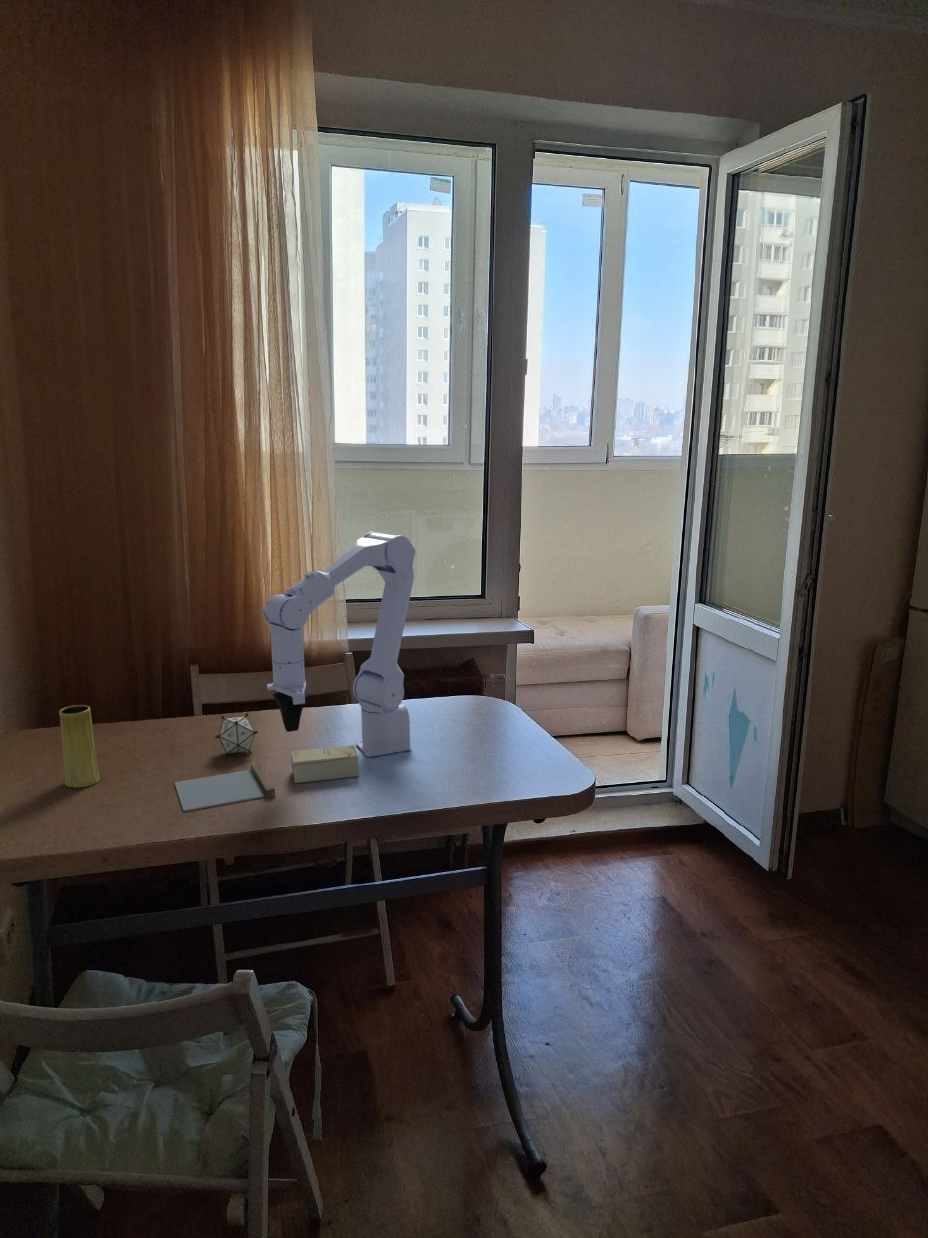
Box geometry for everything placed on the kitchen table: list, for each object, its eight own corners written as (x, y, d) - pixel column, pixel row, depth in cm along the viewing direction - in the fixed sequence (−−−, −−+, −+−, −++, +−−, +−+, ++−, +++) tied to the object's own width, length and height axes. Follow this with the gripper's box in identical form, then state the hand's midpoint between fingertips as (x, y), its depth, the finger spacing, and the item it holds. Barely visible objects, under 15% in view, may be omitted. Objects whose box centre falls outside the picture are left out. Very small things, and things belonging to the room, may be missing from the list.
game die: (243, 773, 175) (243, 746, 168) (206, 756, 176) (204, 729, 169) (265, 739, 181) (266, 712, 174) (229, 723, 182) (229, 696, 175)
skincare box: (290, 751, 166) (353, 743, 169) (291, 772, 167) (354, 764, 170) (293, 763, 160) (358, 754, 163) (294, 785, 161) (360, 776, 164)
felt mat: (250, 771, 167) (250, 769, 167) (264, 797, 155) (264, 795, 155) (174, 784, 161) (174, 782, 161) (183, 812, 150) (183, 810, 150)
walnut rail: (259, 768, 168) (258, 761, 168) (275, 796, 156) (274, 788, 155) (251, 770, 168) (250, 762, 167) (266, 798, 155) (266, 790, 155)
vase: (107, 777, 164) (99, 705, 161) (83, 790, 159) (75, 716, 156) (81, 773, 166) (73, 702, 163) (57, 786, 161) (48, 712, 157)
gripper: (257, 652, 164) (262, 721, 167) (275, 672, 151) (279, 746, 154) (294, 648, 166) (298, 716, 170) (315, 667, 154) (318, 740, 157)
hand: (291, 730), depth 162 cm, fingers closed
